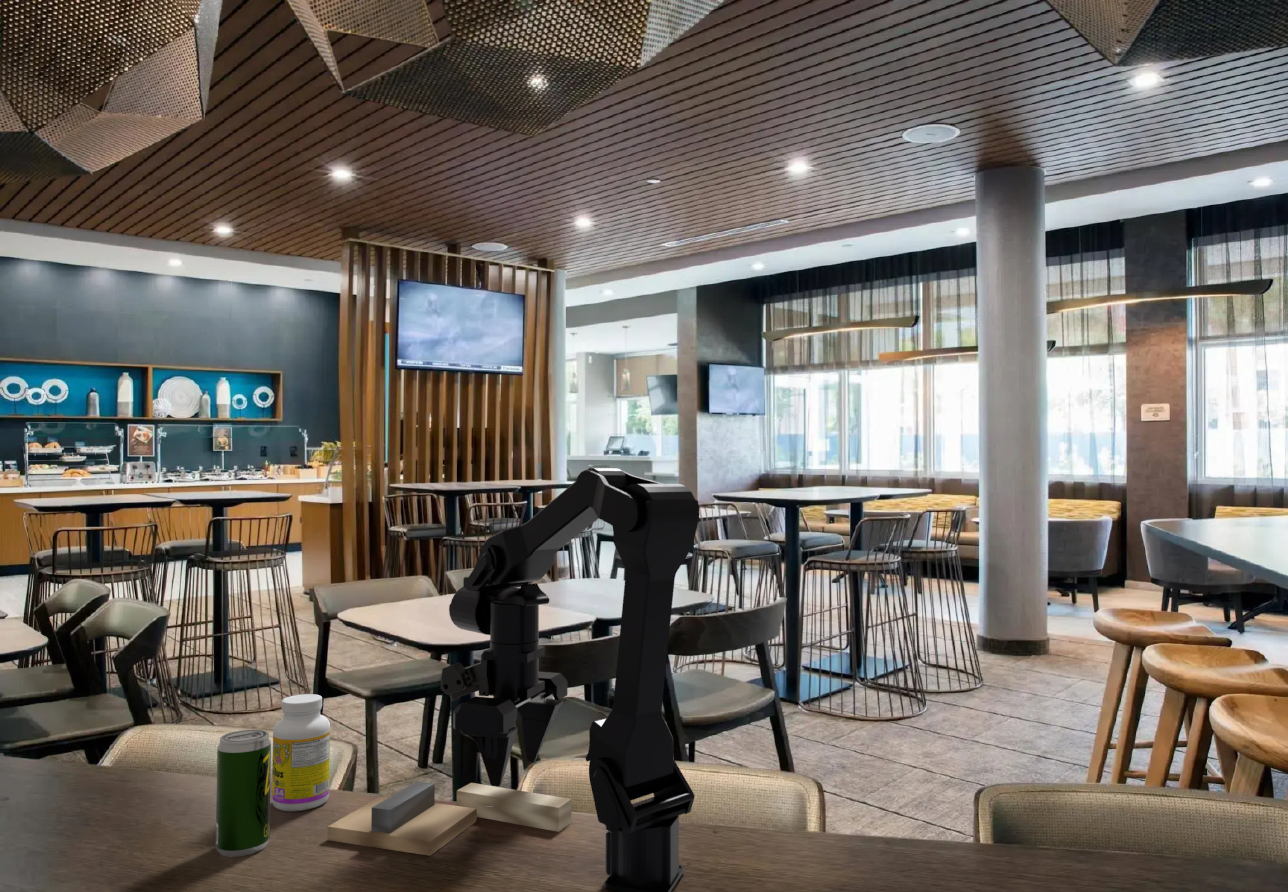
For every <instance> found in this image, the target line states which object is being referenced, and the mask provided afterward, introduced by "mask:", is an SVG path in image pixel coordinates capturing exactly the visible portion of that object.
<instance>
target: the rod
mask: <svg viewBox="0 0 1288 892" xmlns="http://www.w3.org/2000/svg"><path fill="white" fill-rule="evenodd" d="M572 805H573V804H572V798H567V797H562V796H557V795H550V794H549V795H548V794H542V793H537V792H536V793H535V792H531V791H524V790H519V789H512V788H505V787H500V786H498V787H497V786H492V785H488V784H487V785H486V784H481V783H475V782H470V783H468V784H466V785H464V786H463V787H461V788H458V789H457V790H456V806H461V807H469V808H477V818H482V819H486V820H493V821H498V822H502V823H503V822H504V823H509V824H514V825H519V826H526V827H531V828H536V829H541V830H542V829H543V830H547V831H553V832H557V833H559V832H560V831H562V830H563V829H565V828H566V827H568V826H569V825H570V824H571V823H572V815H573V814H572ZM485 806H493V807H485Z"/></svg>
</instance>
